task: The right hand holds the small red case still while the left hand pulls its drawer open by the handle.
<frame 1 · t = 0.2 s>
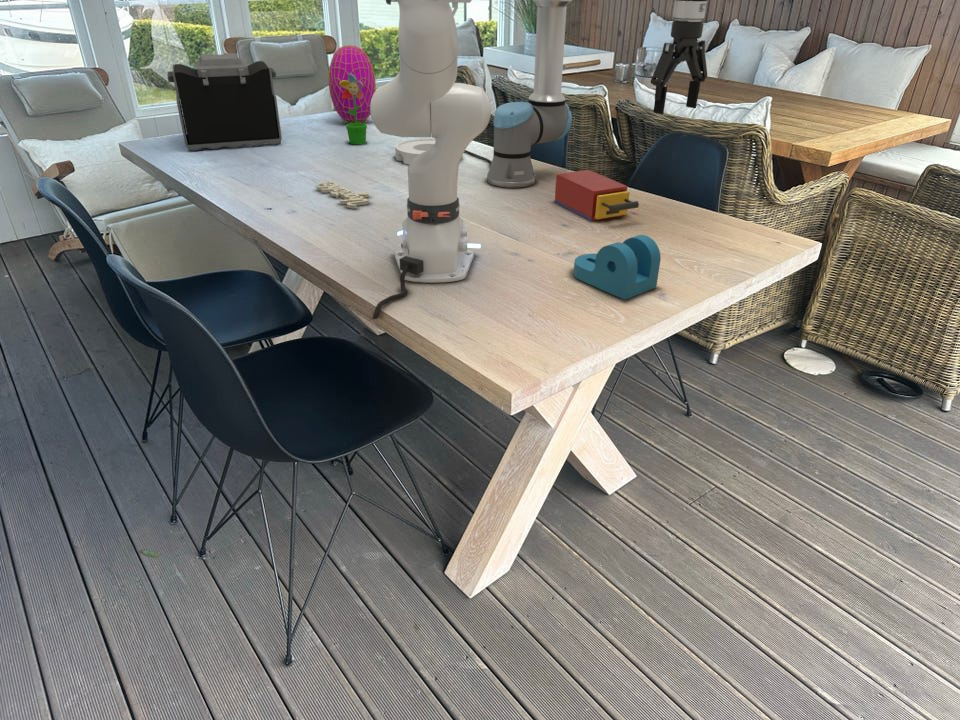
left hand: (430, 23, 166), 48 cm above the table, tool pointing down, fingers open, 8 cm apart
right hand: (674, 110, 180), 28 cm above the table, tool pointing down, fingers open, 13 cm apart
drawer: (600, 199, 191), point 4 cm above the table, slide at 0.7 cm
electronic device: (233, 142, 261), on the table
decorative egg: (355, 123, 293), on the table
potted flower: (358, 143, 262), on the table
camera mount: (608, 280, 153), on the table
red case: (588, 208, 197), on the table
ashtray: (428, 158, 244), on the table
decorative sign: (345, 195, 205), on the table
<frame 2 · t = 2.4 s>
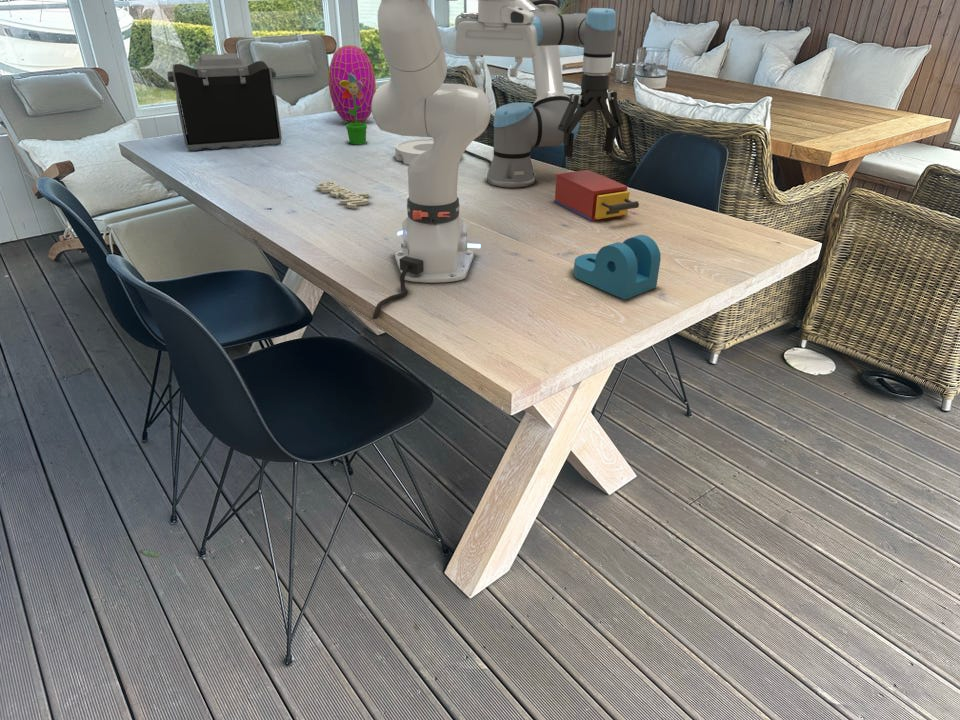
left hand: (495, 75, 171), 37 cm above the table, tool pointing down, fingers open, 8 cm apart
right hand: (588, 154, 193), 14 cm above the table, tool pointing down, fingers open, 13 cm apart
nothing on the table moved.
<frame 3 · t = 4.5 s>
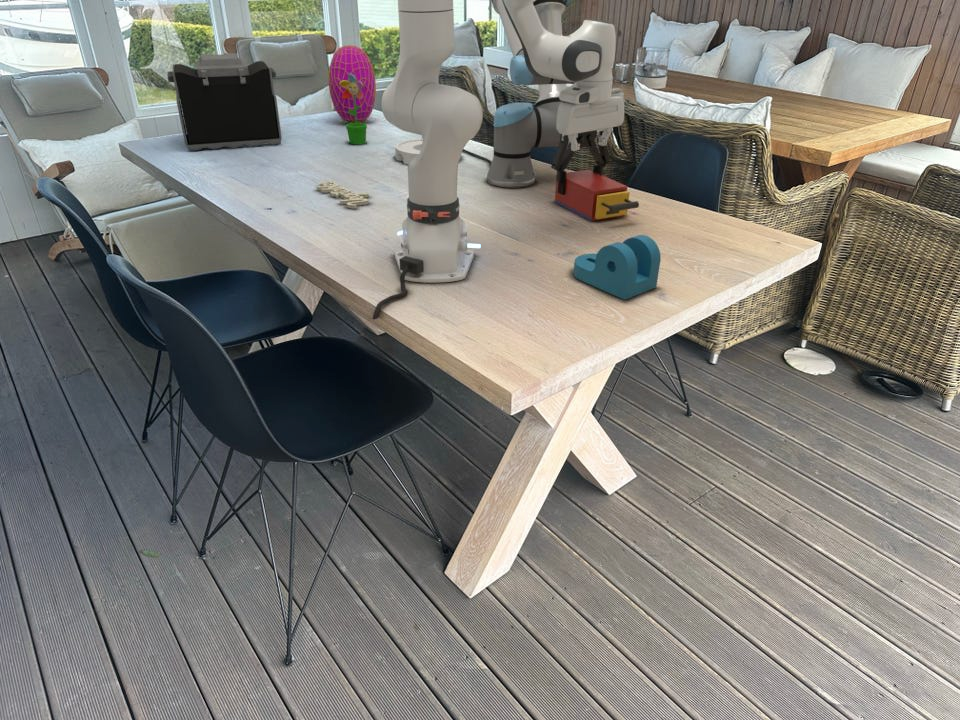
left hand: (589, 147, 178), 20 cm above the table, tool pointing down, fingers open, 8 cm apart
right hand: (578, 191, 199), 4 cm above the table, tool pointing down, fingers closed on red case, 11 cm apart
red case: (588, 208, 197), on the table, touching right hand
everything else where it was.
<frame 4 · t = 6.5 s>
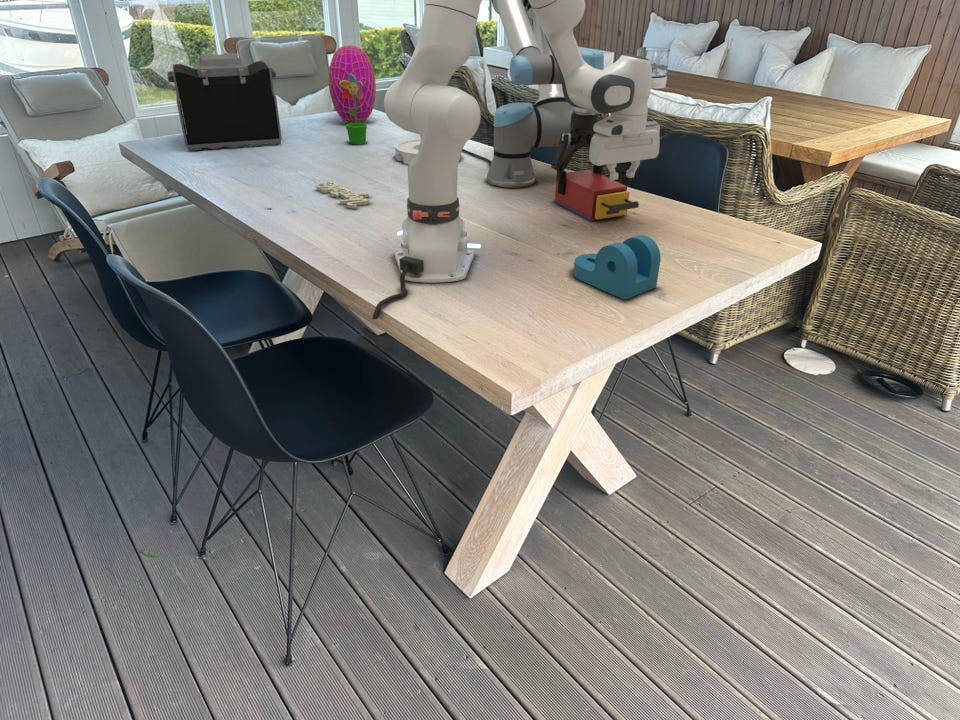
left hand: (621, 178, 180), 12 cm above the table, tool pointing down, fingers open, 4 cm apart
right hand: (578, 191, 199), 4 cm above the table, tool pointing down, fingers closed on red case, 11 cm apart
red case: (588, 208, 197), on the table, touching right hand
everything else where it was.
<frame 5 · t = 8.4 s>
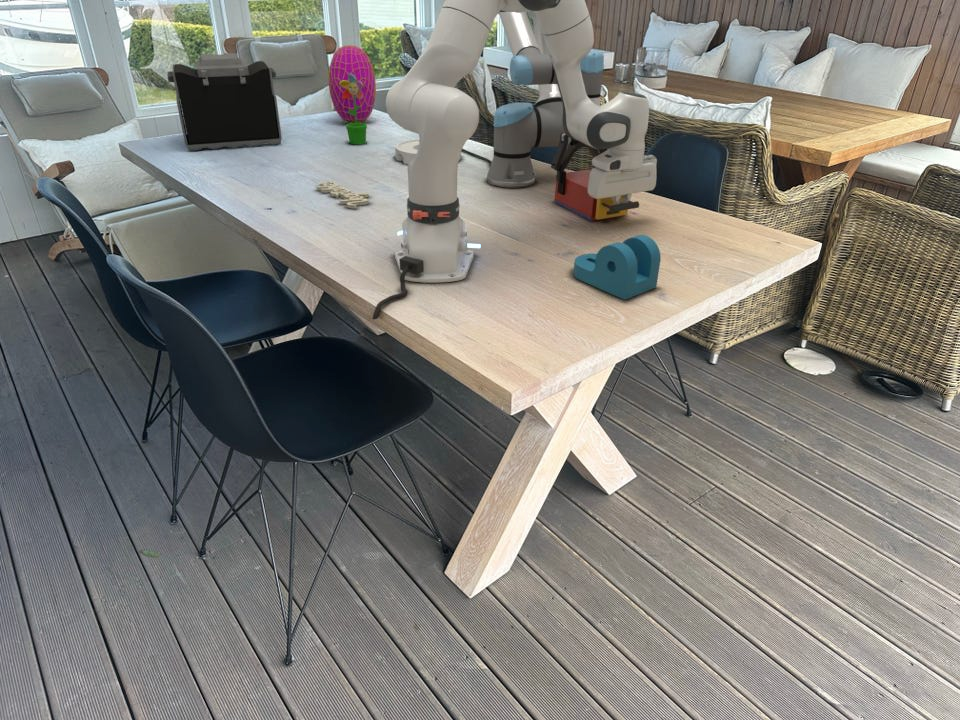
left hand: (619, 210, 184), 4 cm above the table, tool pointing down, fingers closed, pressing on drawer
right hand: (578, 191, 199), 4 cm above the table, tool pointing down, fingers closed on red case, 11 cm apart
drawer: (600, 199, 191), point 4 cm above the table, slide at 0.9 cm, touching left hand
red case: (588, 208, 197), on the table, touching right hand
everything else where it was.
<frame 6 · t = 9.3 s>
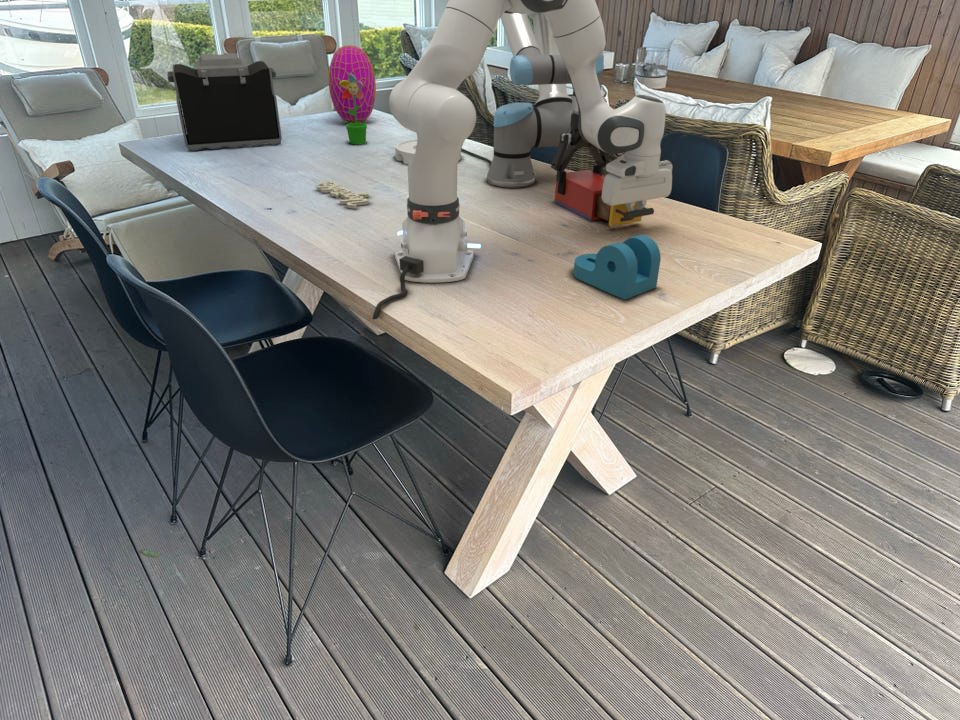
left hand: (634, 216, 180), 4 cm above the table, tool pointing down, fingers closed, pressing on drawer
right hand: (578, 191, 199), 4 cm above the table, tool pointing down, fingers closed on red case, 11 cm apart
drawer: (614, 205, 186), point 4 cm above the table, slide at 6.9 cm, touching left hand
red case: (588, 208, 197), on the table, touching right hand
everything else where it was.
when the right hand's fingers open (4 cm above the table, at t = 11.1 s): red case stays where it is, on the table.
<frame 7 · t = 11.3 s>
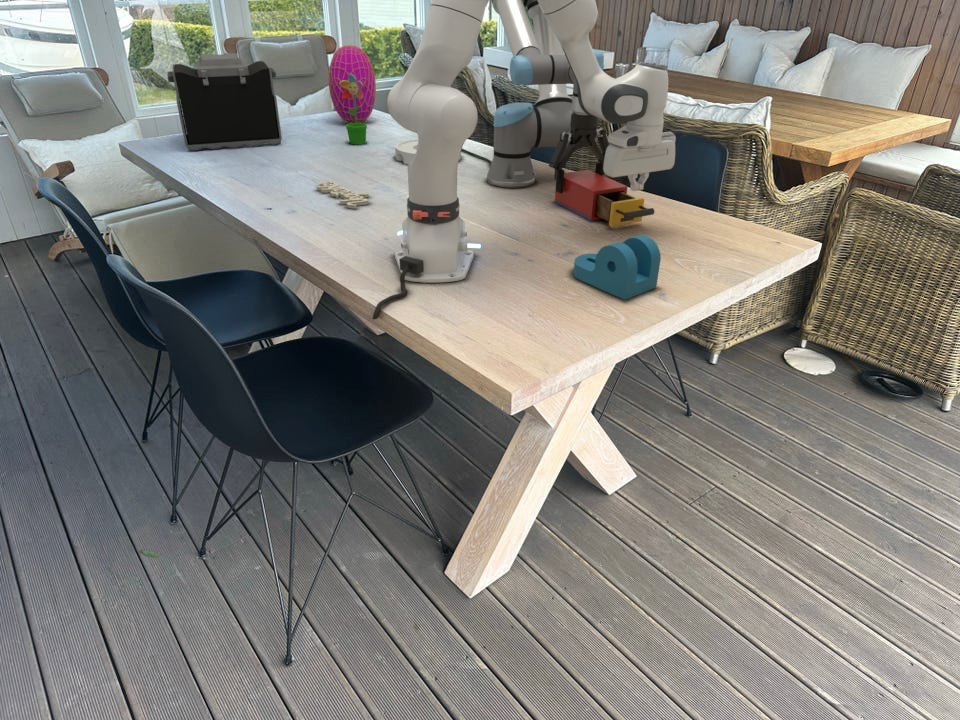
left hand: (636, 189, 176), 11 cm above the table, tool pointing down, fingers closed
right hand: (578, 189, 199), 4 cm above the table, tool pointing down, fingers open, 13 cm apart
drawer: (614, 206, 186), point 4 cm above the table, slide at 7.0 cm
red case: (588, 208, 197), on the table
everything else where it was.
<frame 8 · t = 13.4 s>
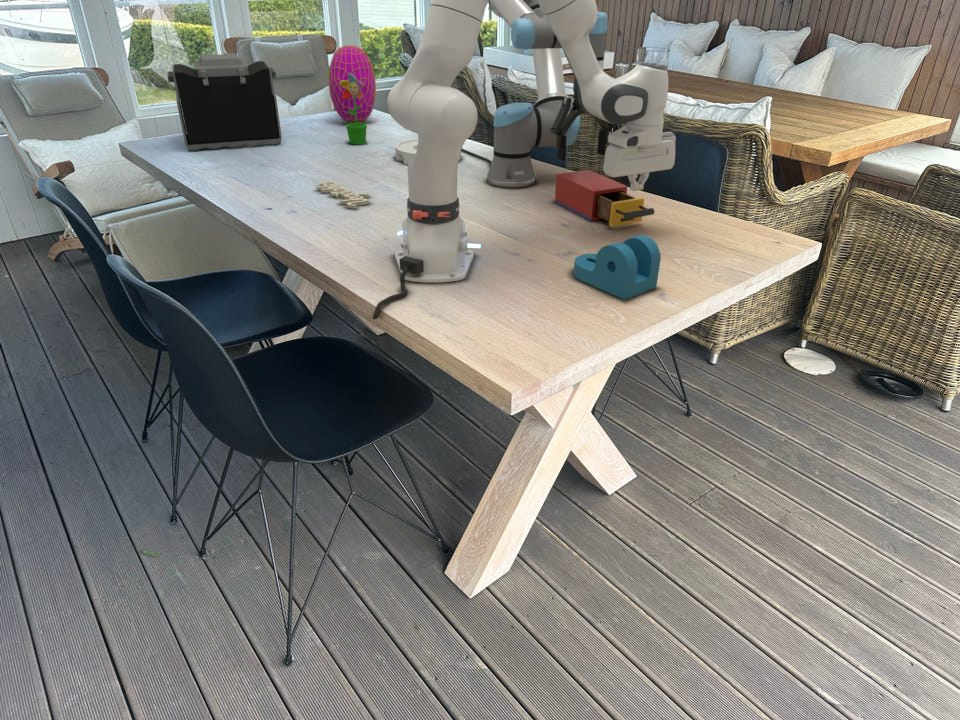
left hand: (636, 189, 176), 11 cm above the table, tool pointing down, fingers closed
right hand: (581, 157, 194), 13 cm above the table, tool pointing down, fingers open, 13 cm apart
nothing on the table moved.
at the end: drawer slide at 7.0 cm; red case tilted 0°; red case never tilted more than 1° during the clip; red case moved 0.0 cm from its start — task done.
